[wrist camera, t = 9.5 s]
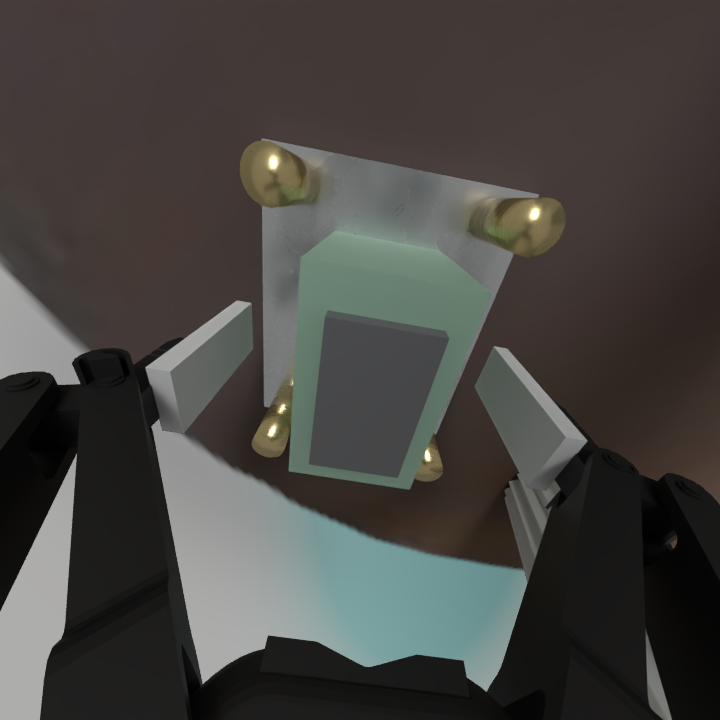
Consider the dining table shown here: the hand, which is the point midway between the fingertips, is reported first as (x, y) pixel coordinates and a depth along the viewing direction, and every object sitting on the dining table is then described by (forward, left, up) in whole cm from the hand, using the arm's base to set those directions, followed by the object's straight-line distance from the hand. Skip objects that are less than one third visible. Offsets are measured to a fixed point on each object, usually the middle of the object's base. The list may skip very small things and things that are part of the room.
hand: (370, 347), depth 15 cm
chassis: (0, 0, -4) cm, 4 cm away
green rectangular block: (0, 0, -3) cm, 3 cm away
